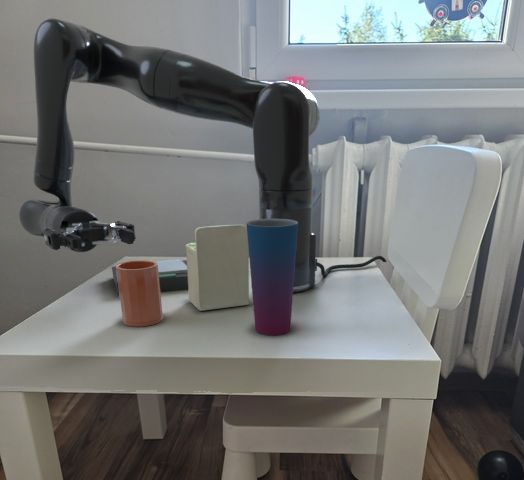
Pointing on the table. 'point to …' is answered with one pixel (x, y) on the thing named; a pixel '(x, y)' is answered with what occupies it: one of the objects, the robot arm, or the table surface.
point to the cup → (272, 272)
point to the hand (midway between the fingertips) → (106, 240)
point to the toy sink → (218, 267)
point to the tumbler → (139, 293)
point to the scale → (167, 275)
